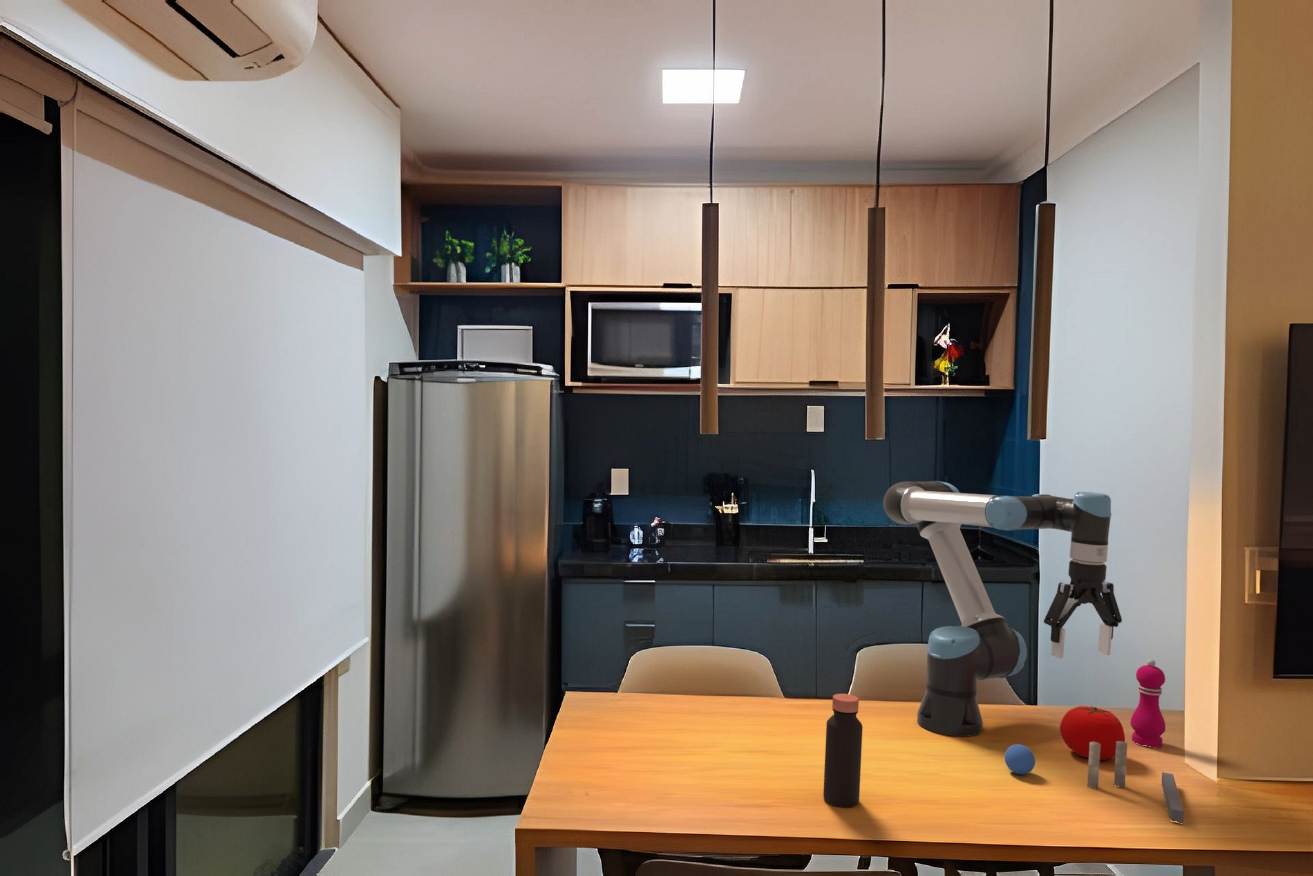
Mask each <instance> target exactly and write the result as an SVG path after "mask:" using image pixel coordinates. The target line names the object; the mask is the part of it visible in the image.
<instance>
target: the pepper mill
mask: <svg viewBox="0 0 1313 876" xmlns="http://www.w3.org/2000/svg"><path fill="white" fill-rule="evenodd" d="M1156 665H1157V664H1156V661H1155V660H1154V659H1152V658H1150V659H1149V658H1148V659H1147V662H1146V664H1145V665H1141V666H1139V668H1138V669H1137V670H1136V672H1135V677H1136V680H1137V682H1138V683H1139V684H1137V691H1138V693H1139V700H1138V701H1139V702H1138V705H1137V707H1136V708H1135V709H1134V711H1133V713H1132V714H1131V718H1130V726H1131V728H1132V729H1133V731H1134V732H1132V735H1131V741H1132V742H1133V741H1134V742H1135V743H1138V744H1140V745H1147V746H1151V747H1160V748H1162V747H1163V738H1162V735H1163V734H1164V733H1165V732H1166V721H1165V718H1164V716H1163V714H1162V711H1161V709H1160V696H1161V695H1162V694H1163V688H1162V686H1163V685H1164V684H1165V682H1166V675H1165V673H1164V671H1163V669H1161V668H1159V667H1158V666H1156ZM1134 742H1133V743H1134ZM1135 743H1134V744H1135ZM1138 744H1137V745H1138ZM1140 745H1139V746H1140ZM1161 746H1162V747H1161Z"/></svg>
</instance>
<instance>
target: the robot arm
mask: <svg viewBox="0 0 1313 876" xmlns="http://www.w3.org/2000/svg"><path fill="white" fill-rule="evenodd" d="M882 503H883V510H884V512H885V514H886V515H887V516H888V518H889V519H890V520H892V521H893V522H894V523H896V524H899V525H909V526H910V525H911V526H912V525H913V526H916V527H917V530H918V532H919V535H920V536H921V538H924V539H926V540H928V542H929V545H930V547H931V550H932V552H933V554H934V556H935V560H936V562H937V565H938V567H939V569H940V572H941V575H942V577H943V579H944V582H945V585H946V587H947V589H948V591H949V594H950V597H951V599H952V602H953V604H954V607H955V610H956V612H957V614H958V617H959V620H960V622H961V625H956V626H952V625H947V626H940V627H938V628H935V629H934V630H933V631H931V632H930V634H929V637H928V644H927V648H926V649H927V653H926V654H927V655H926V657H927V658H926V659H927V660H926V686H925V687H926V688H925V693H924V695H923V697H922V700H921V702H920V705H919V707H918V709H917V716H916V717H917V718H916V723H917V724H918V725H919V726H920V727H922V728H924V729H926V730H928V731H931V732H933V733H937V734H942V735H947V736H954V737H972V736H976V735H979V734H982V732H983V727H984V726H983V725H984V724H983V723H984V722H983V717H982V714H981V710H980V706H979V703H978V699H977V689H978V688H977V687H978V681H984V680H985V681H986V680H993V679H1004V678H1007V677H1010V676H1014V675H1016V674H1018V673H1019V672H1020V671H1021V670H1022V669H1023V668H1024V666H1025V662H1026V660H1027V654H1028V650H1027V649H1028V648H1027V646H1026V641H1025V640H1024V637H1023V636H1022V635H1021V633H1019V631H1016V629H1015V628H1014V629H1013V628H1010V627H1008V624H1007V621H1006V619H1005V618H1004V616H1002V615H999V614H998V613H996V611H995V610H994V606H993V605H992V603H991V600H990V598H989V595H988V593H987V590H986V589H985V586H984V583H983V581H982V578H981V576H980V574H979V572H978V569H977V567H976V564H975V562H974V560H973V557H972V555H971V552H970V550H969V548H968V546H967V543H966V541H965V539H964V536H963V534H962V531H961V529H960V528H961V526H962V525H967V526H978V527H987V528H994V529H997V530H1000V531H1001V530H1002V531H1015V530H1040V529H1041V530H1044V529H1045V530H1046V529H1052V530H1060V531H1066V532H1070V533H1071V534H1070V535H1071V536H1070V537H1071V538H1070V539H1071V540H1070V548H1069V549H1070V550H1069V558H1070V559H1071V560H1070V561H1069V562H1068V577H1069V578H1070V583H1066V582H1065V583H1064V582H1058V586H1057V590H1056V593H1055V596H1054V598H1053V600H1052V602H1051V604H1050V606H1049V608H1048V611H1047V613H1046V615H1045V617H1044V620H1043V623H1044V624H1046V625H1048V626H1050V627H1051V629H1050V642H1051V649H1050V655H1051V656H1053V657H1056V658H1058V659H1063V658H1064V651H1065V638H1066V637H1065V636H1066V629H1065V628H1063V627H1064V625H1065V624H1066V623H1067V622H1068V620H1069V619H1070V618H1071V616H1072V615H1073V613H1074V612H1075V611H1076V609H1077V608H1078V607H1080V606H1082V605H1086V604H1090V605H1091V604H1092V607H1094V609H1095V611H1096V612H1097V615H1098V616H1099V617H1100V619H1101V620H1102V623H1099V633H1098V634H1099V635H1098V645H1097V652H1098V653H1100V654H1102V655H1106V656H1110V655H1111V646H1112V640H1113V638H1114V627H1115V628H1118V627H1119V625H1120V624H1121V623H1122V622H1123V619H1122V616H1121V611H1120V608H1119V606H1118V602H1117V599H1116V595H1115V592H1114V591H1115V587H1114V583H1113V582H1109V581H1108V582H1107V581H1106V578H1107V577H1106V576H1107V567H1108V566H1107V564H1105V563H1106V562H1107V561H1108V560H1107V559H1108V549H1109V534H1110V525H1111V519H1112V518H1111V517H1112V499H1111V497H1110V495H1108V494H1106V493H1101V492H1092V491H1077V492H1075V493H1074V497H1073V498H1068V497H1062V496H1061V497H1060V496H1056V495H1051V494H1048V493H1047V494H1043V493H1042V494H1040V493H1036V494H1033V495H1031V496H1029V495H1028V496H1019V495H1018V496H1017V495H1016V496H1015V495H994V494H979V493H966V492H964V493H963V492H960V491H959V489H958V488H957V487H956V486H954V485H952V484H951V483H949V482H944V481H940V480H930V481H900V482H897V483H894V484H893V485H892V486H890V487H889V488H888V489H887V491H886V492H885V495H884V497H883V502H882Z"/></svg>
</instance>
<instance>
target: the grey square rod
mask: <svg viewBox="0 0 1313 876" xmlns="http://www.w3.org/2000/svg"><path fill="white" fill-rule="evenodd" d="M1160 782H1161V783H1162V784H1161V788H1163V789H1162V792H1164V793H1163V796H1165V797H1164V800H1165V799H1166V801H1165V804H1167V805H1166V809H1167V808H1168V809H1167V813H1168V812H1169V813H1168V816H1169V815H1170V817H1169V820H1170V819H1171V820H1172V821H1177V822H1179V823H1183V824H1184V816H1185V815H1184V814H1185V813H1184V808H1183V804H1182V801H1181V797H1180V793H1179V790H1178V787H1177V782H1176V780H1175V776H1174V774H1173V773H1169V772H1164V771H1162V772H1161V781H1160Z"/></svg>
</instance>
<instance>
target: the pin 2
mask: <svg viewBox="0 0 1313 876" xmlns="http://www.w3.org/2000/svg"><path fill="white" fill-rule="evenodd" d="M1127 752H1128V743H1127V742H1126V741H1125V742H1122V741H1117V742H1116V757H1114V758H1115V760H1114V778H1113V781H1114V782H1113V786H1114V785H1116V786H1119V787H1125V788H1126V777H1127V776H1126V775H1127V756H1128V753H1127ZM1116 786H1115V787H1116Z"/></svg>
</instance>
